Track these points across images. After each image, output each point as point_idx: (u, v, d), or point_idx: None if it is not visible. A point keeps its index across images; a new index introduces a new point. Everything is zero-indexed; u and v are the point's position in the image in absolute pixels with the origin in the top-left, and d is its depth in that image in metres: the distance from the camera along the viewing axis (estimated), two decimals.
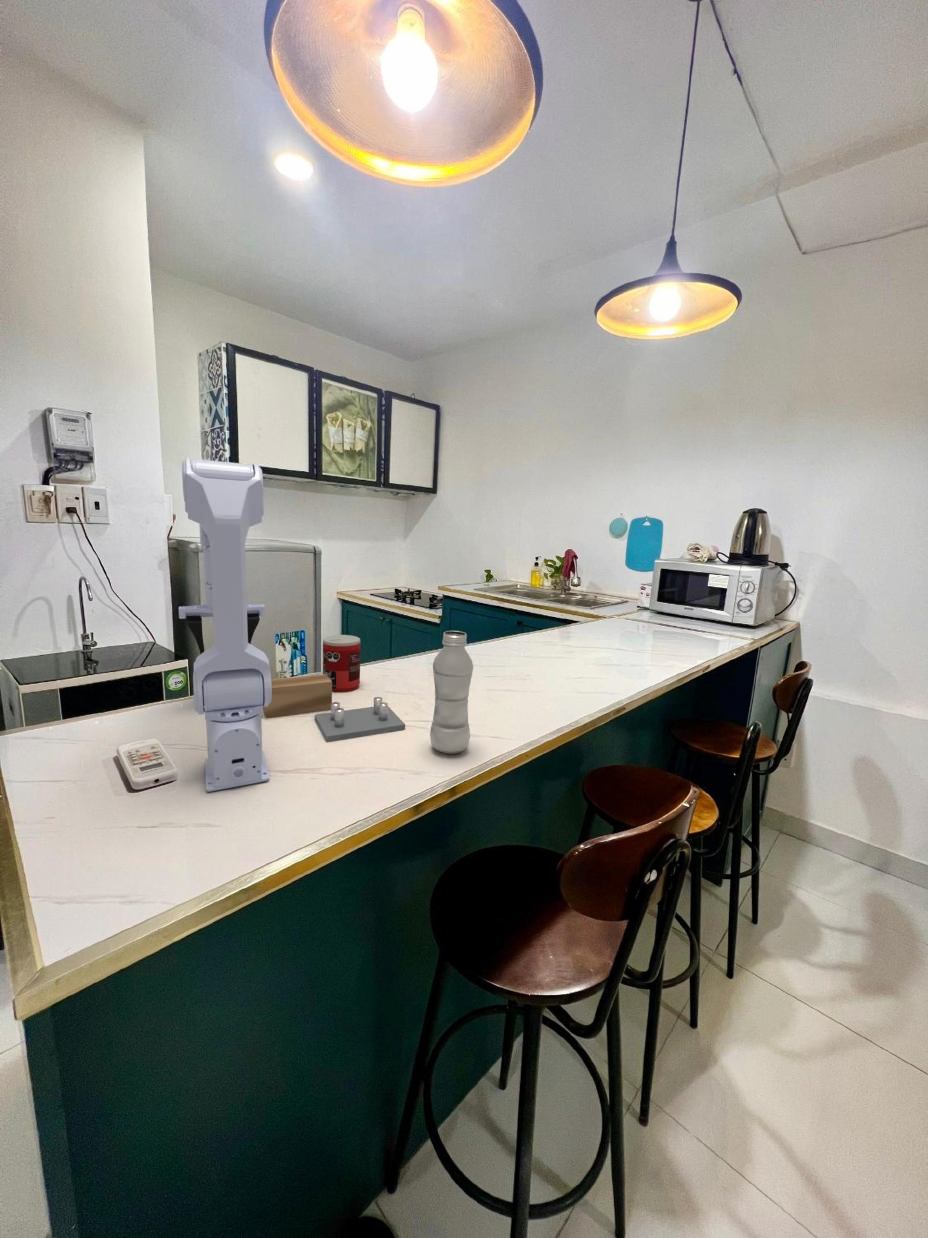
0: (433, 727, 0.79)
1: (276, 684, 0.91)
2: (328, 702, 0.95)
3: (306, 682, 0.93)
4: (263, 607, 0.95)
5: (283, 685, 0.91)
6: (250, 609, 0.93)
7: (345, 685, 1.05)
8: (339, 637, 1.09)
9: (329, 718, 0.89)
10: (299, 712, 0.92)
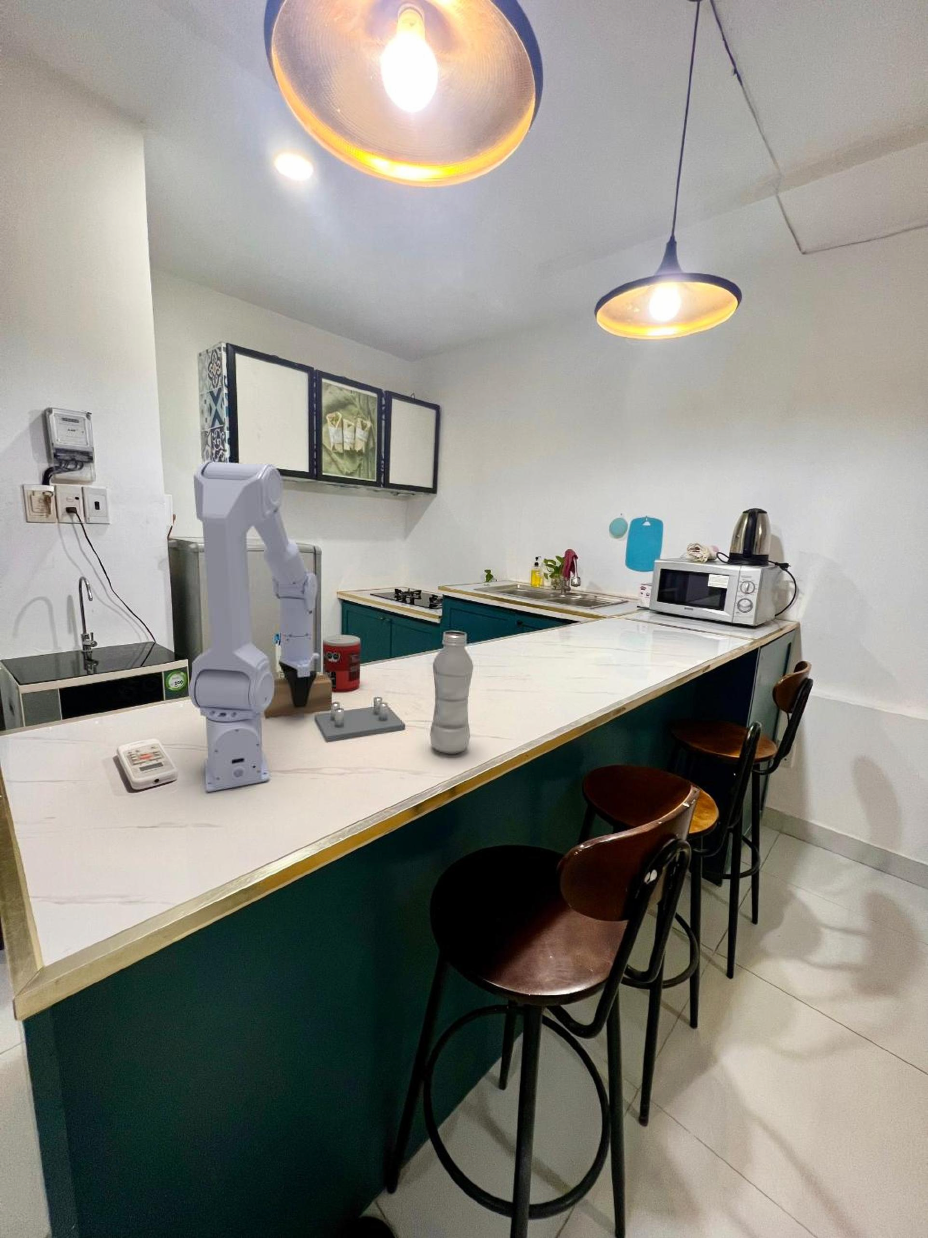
0: (433, 727, 0.79)
1: (276, 684, 0.91)
2: (328, 702, 0.95)
3: None
4: (297, 668, 0.86)
5: (283, 685, 0.91)
6: (292, 665, 0.88)
7: (345, 685, 1.05)
8: (339, 637, 1.09)
9: (329, 718, 0.89)
10: (299, 712, 0.92)
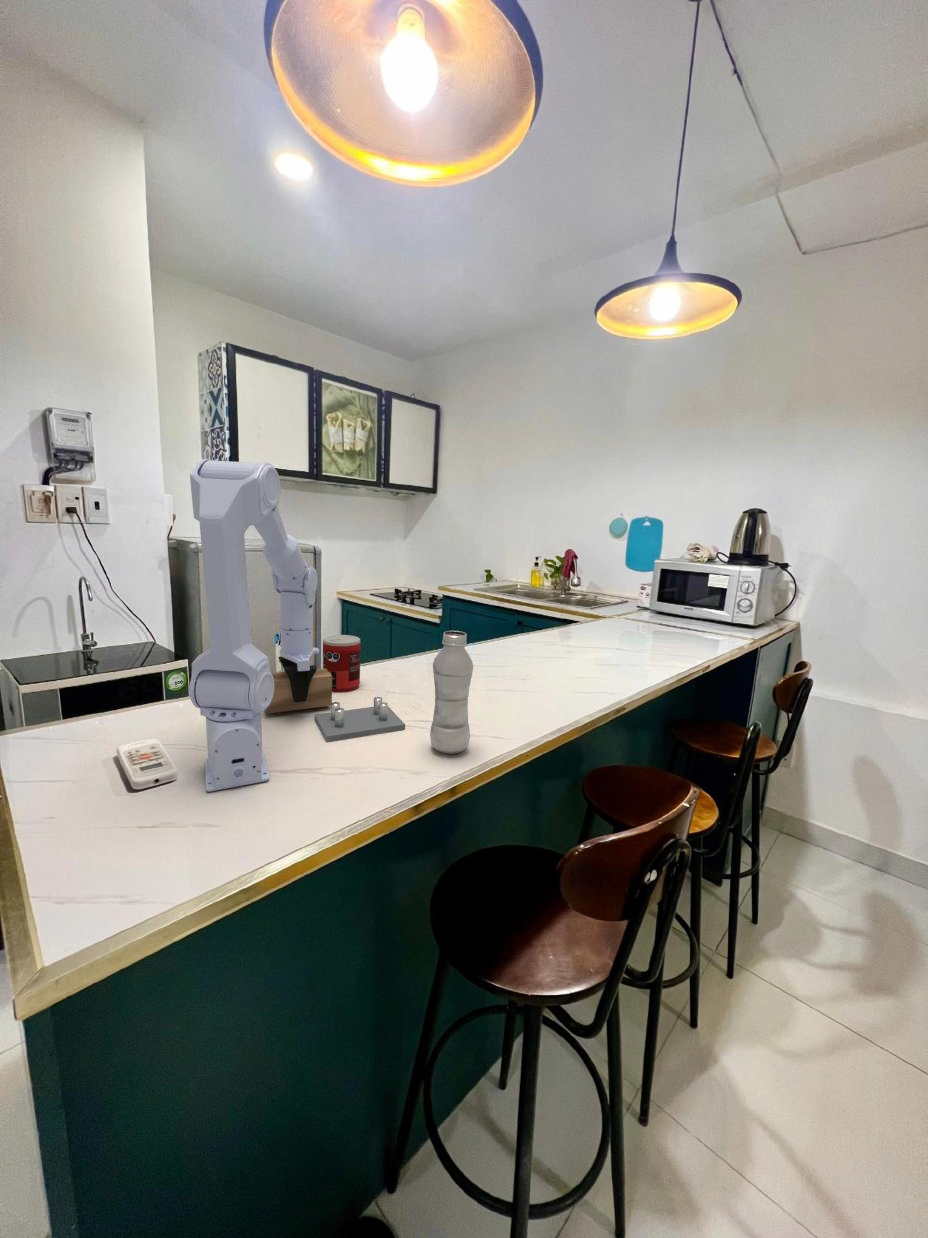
0: (433, 727, 0.79)
1: (276, 678, 0.91)
2: (328, 696, 0.94)
3: None
4: (297, 662, 0.86)
5: (283, 679, 0.91)
6: (292, 659, 0.88)
7: (345, 685, 1.05)
8: (339, 637, 1.09)
9: (329, 718, 0.89)
10: (299, 706, 0.92)
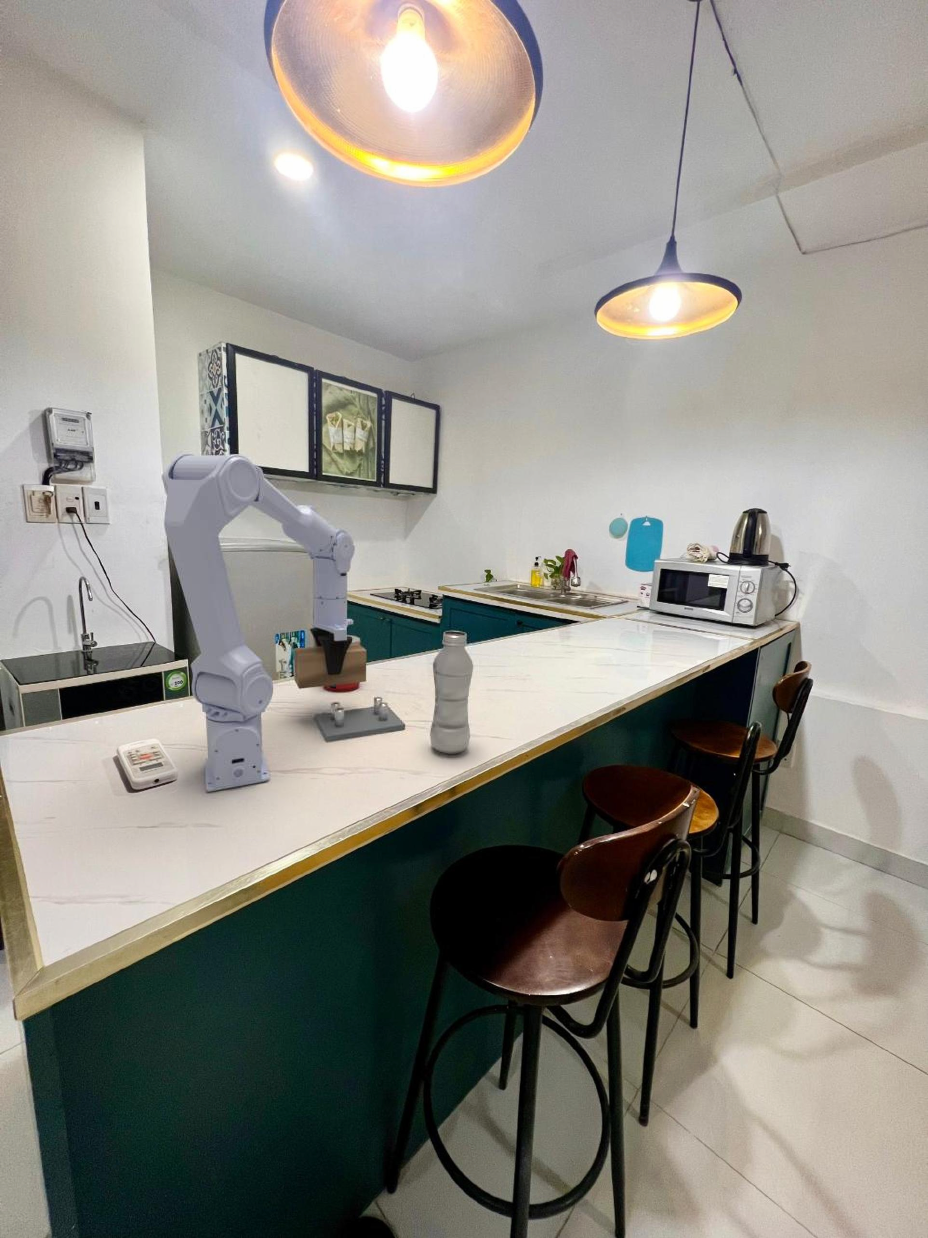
0: (433, 727, 0.79)
1: (309, 652, 0.87)
2: (362, 672, 0.90)
3: None
4: (334, 631, 0.82)
5: (316, 653, 0.87)
6: (327, 629, 0.84)
7: (345, 685, 1.05)
8: None
9: (329, 718, 0.89)
10: (333, 682, 0.88)
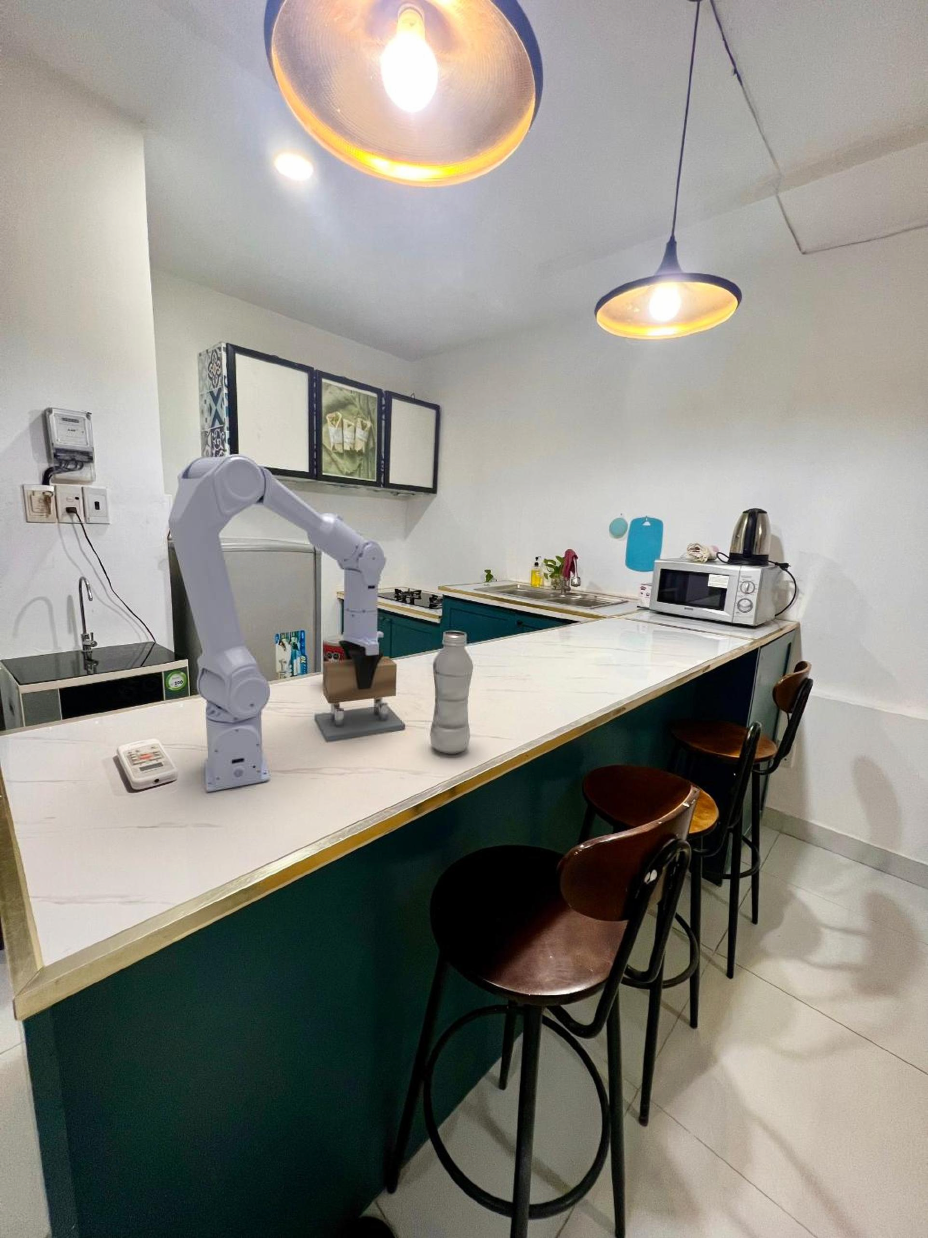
0: (433, 727, 0.79)
1: (339, 665, 0.85)
2: (392, 686, 0.88)
3: None
4: (366, 645, 0.80)
5: (346, 667, 0.84)
6: (359, 643, 0.81)
7: None
8: (339, 637, 1.09)
9: (329, 718, 0.89)
10: (362, 696, 0.86)
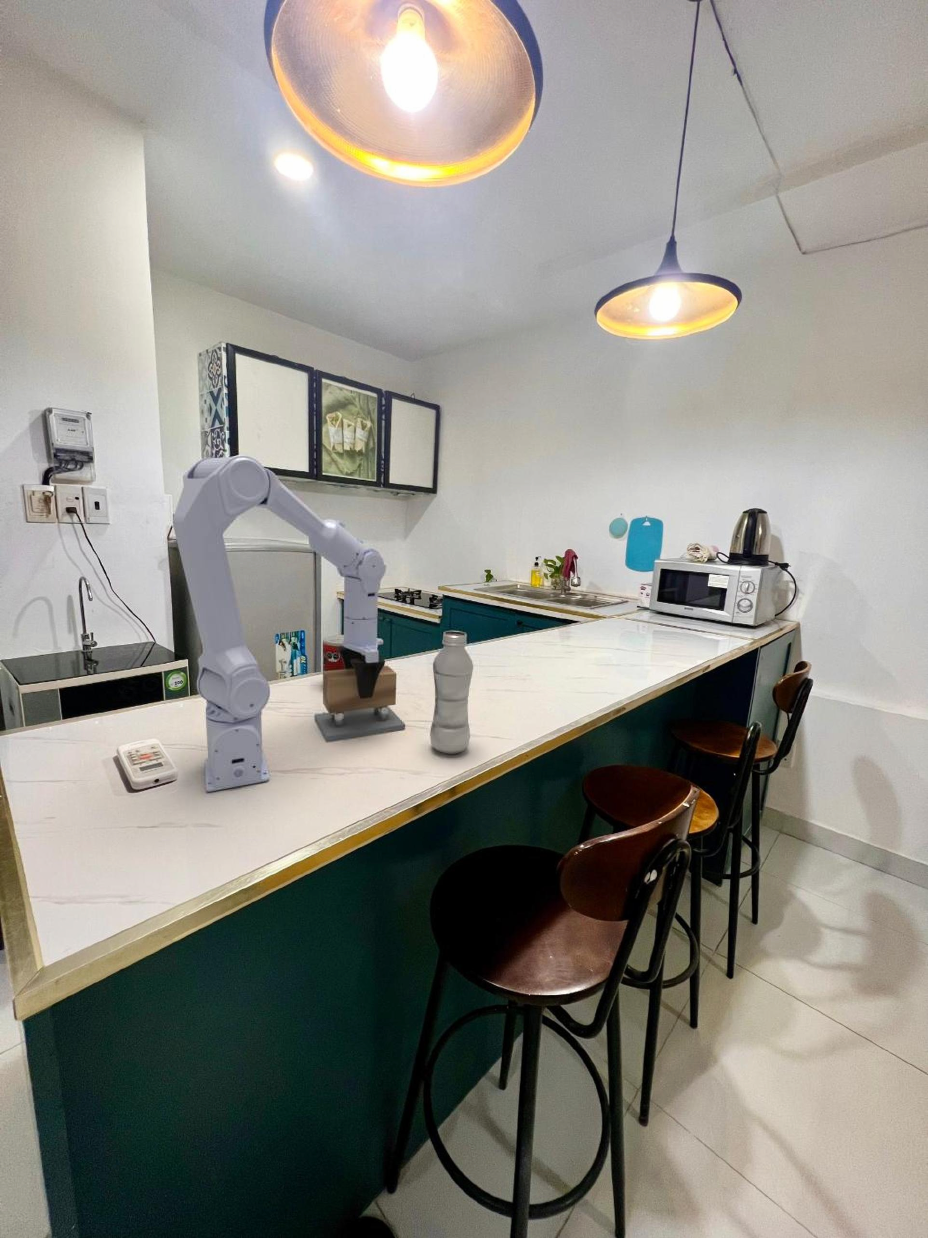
0: (433, 727, 0.79)
1: (339, 675, 0.85)
2: (392, 695, 0.88)
3: None
4: (366, 653, 0.80)
5: (347, 676, 0.85)
6: (358, 650, 0.82)
7: None
8: (339, 637, 1.09)
9: (329, 718, 0.89)
10: (362, 706, 0.86)
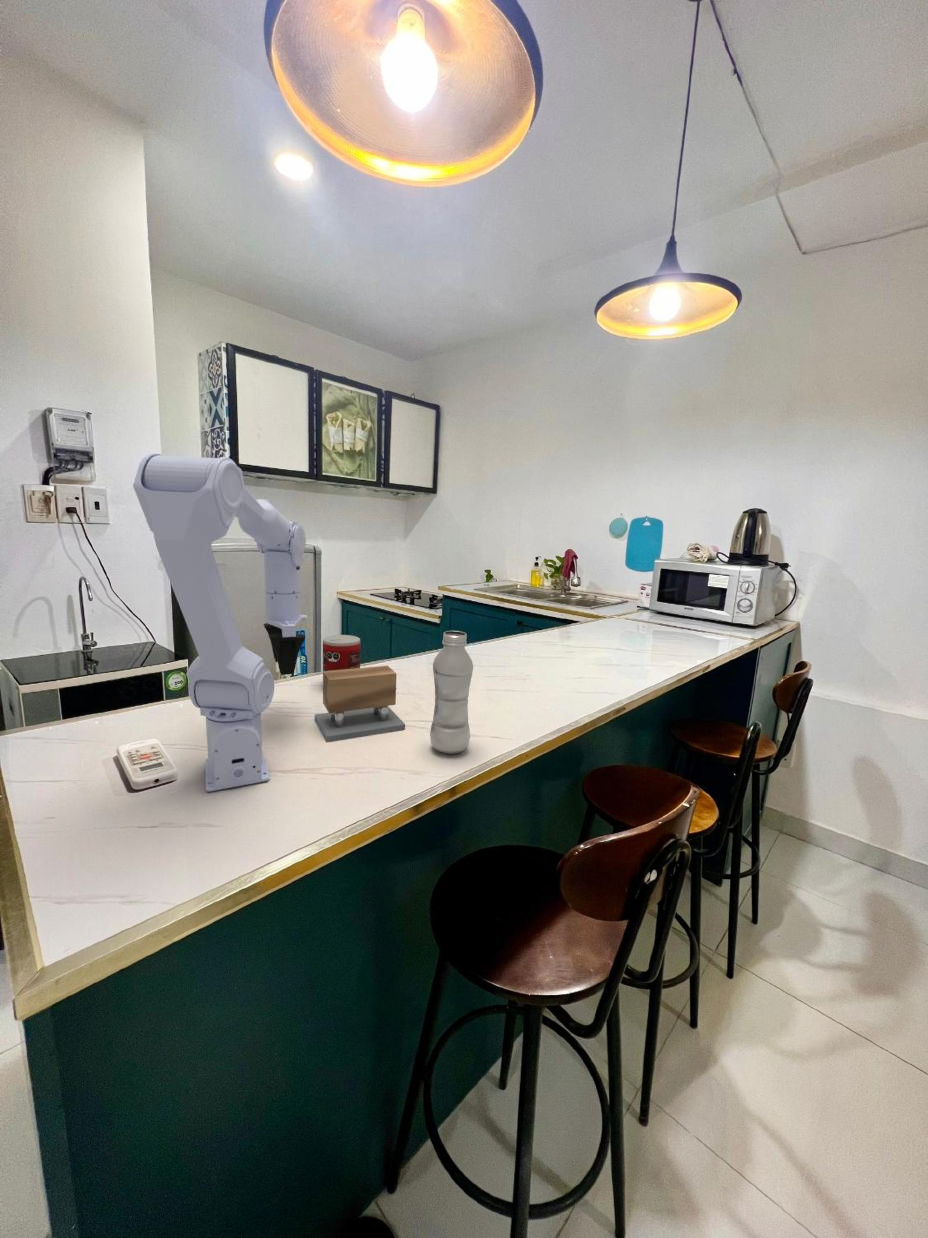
0: (433, 727, 0.79)
1: (339, 675, 0.85)
2: (392, 695, 0.88)
3: (370, 673, 0.87)
4: (282, 627, 0.78)
5: (347, 676, 0.85)
6: (276, 625, 0.80)
7: None
8: (339, 637, 1.09)
9: (329, 718, 0.89)
10: (362, 706, 0.86)
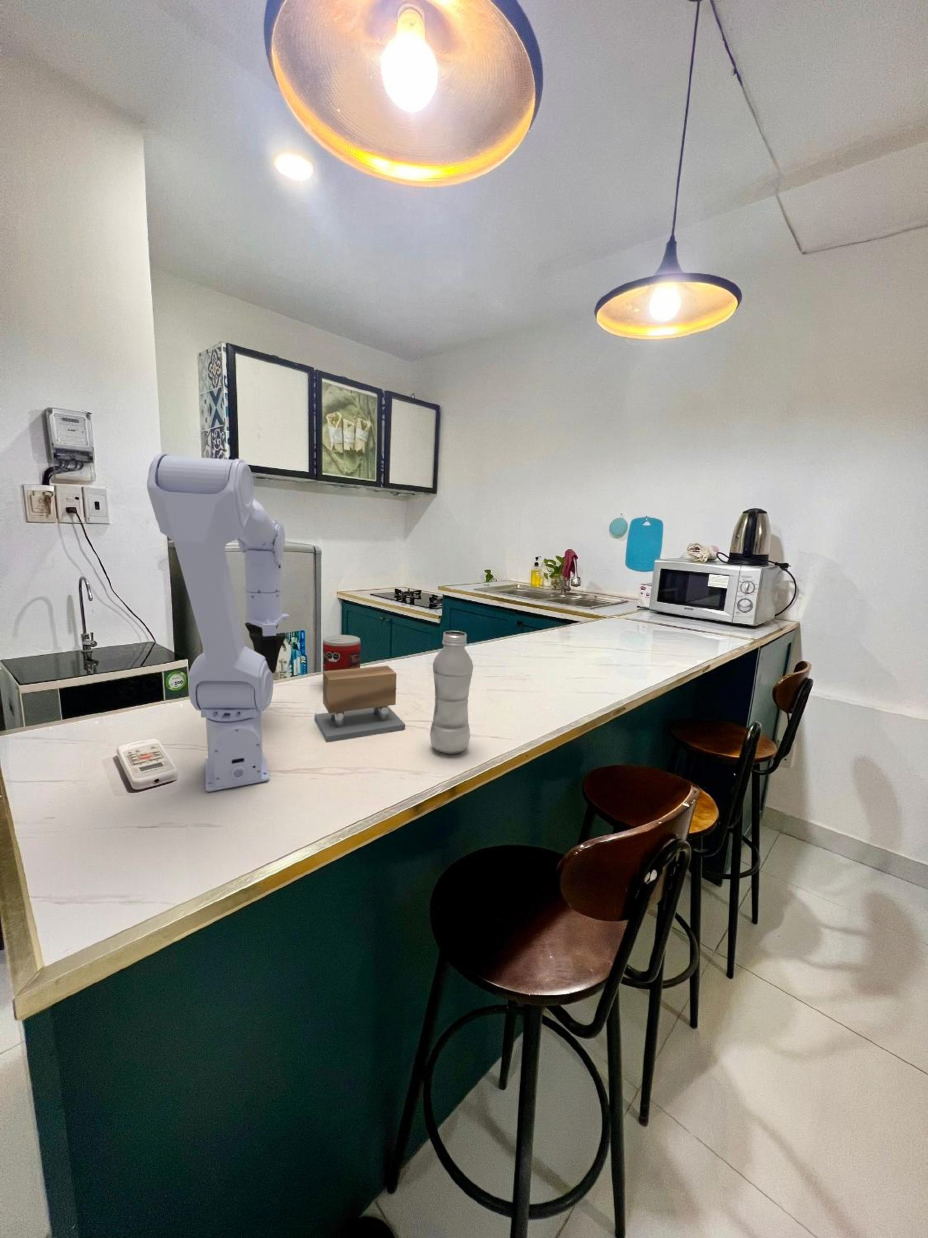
0: (433, 727, 0.79)
1: (339, 675, 0.85)
2: (392, 695, 0.88)
3: (370, 673, 0.87)
4: (262, 626, 0.78)
5: (347, 676, 0.85)
6: (257, 624, 0.80)
7: None
8: (339, 637, 1.09)
9: (329, 718, 0.89)
10: (362, 706, 0.86)
